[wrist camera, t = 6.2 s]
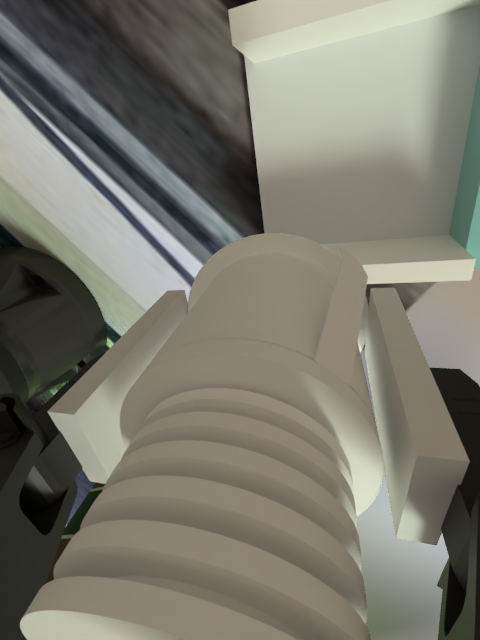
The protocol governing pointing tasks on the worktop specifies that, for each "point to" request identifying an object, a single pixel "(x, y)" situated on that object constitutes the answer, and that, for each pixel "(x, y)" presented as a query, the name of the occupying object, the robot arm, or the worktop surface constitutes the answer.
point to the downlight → (236, 466)
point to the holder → (369, 129)
